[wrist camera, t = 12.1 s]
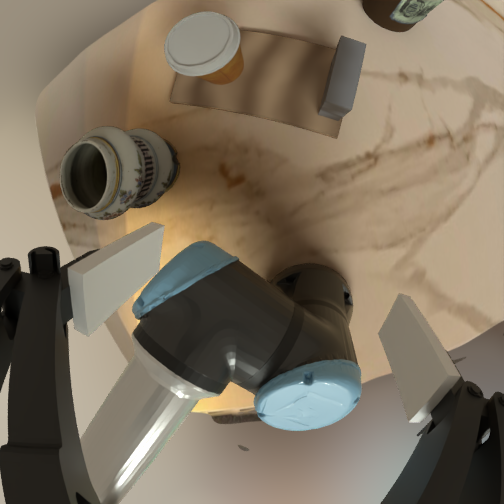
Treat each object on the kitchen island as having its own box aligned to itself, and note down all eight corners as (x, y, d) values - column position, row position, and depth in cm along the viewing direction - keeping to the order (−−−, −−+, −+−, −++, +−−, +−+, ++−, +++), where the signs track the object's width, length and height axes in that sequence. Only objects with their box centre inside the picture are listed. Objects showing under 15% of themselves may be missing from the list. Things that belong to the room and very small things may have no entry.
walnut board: (355, 59, 31) (373, 30, 21) (336, 138, 36) (350, 131, 26) (195, 29, 33) (167, 1, 22) (172, 103, 38) (136, 90, 27)
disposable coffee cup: (196, 47, 34) (163, 17, 23) (255, 40, 32) (238, 3, 21) (194, 98, 37) (158, 79, 26) (255, 93, 35) (237, 67, 24)
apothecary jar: (196, 186, 42) (135, 208, 25) (137, 211, 45) (67, 241, 28) (173, 118, 39) (103, 103, 22) (117, 149, 42) (41, 155, 25)
